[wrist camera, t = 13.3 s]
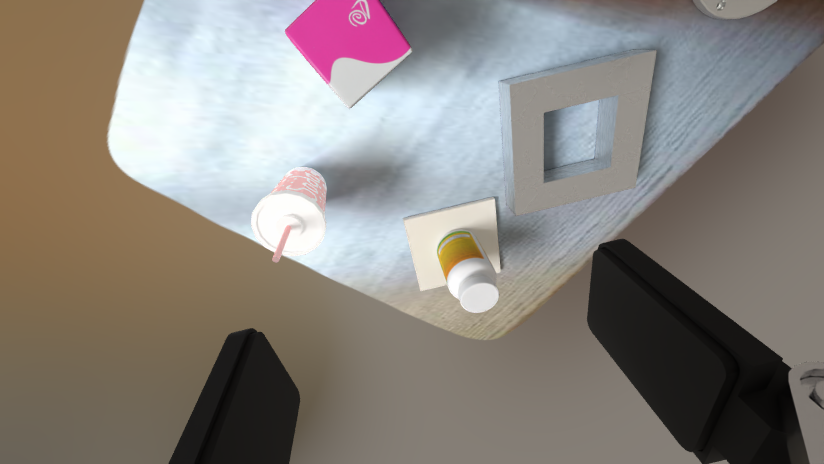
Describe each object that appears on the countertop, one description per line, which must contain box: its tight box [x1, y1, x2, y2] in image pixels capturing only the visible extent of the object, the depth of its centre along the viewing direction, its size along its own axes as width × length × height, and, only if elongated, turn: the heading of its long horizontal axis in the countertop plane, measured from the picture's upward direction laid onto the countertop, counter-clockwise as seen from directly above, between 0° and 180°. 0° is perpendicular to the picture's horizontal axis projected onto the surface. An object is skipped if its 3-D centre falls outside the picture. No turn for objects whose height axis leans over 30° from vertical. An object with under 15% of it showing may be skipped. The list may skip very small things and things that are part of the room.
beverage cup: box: [251, 167, 327, 262], centre depth 30 cm, size 6×6×14 cm
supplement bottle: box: [437, 229, 499, 313], centre depth 38 cm, size 5×5×10 cm
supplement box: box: [285, 0, 413, 108], centre depth 25 cm, size 6×6×12 cm
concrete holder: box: [498, 49, 657, 216], centre depth 36 cm, size 14×14×3 cm
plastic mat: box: [403, 197, 501, 291], centre depth 42 cm, size 11×11×1 cm
